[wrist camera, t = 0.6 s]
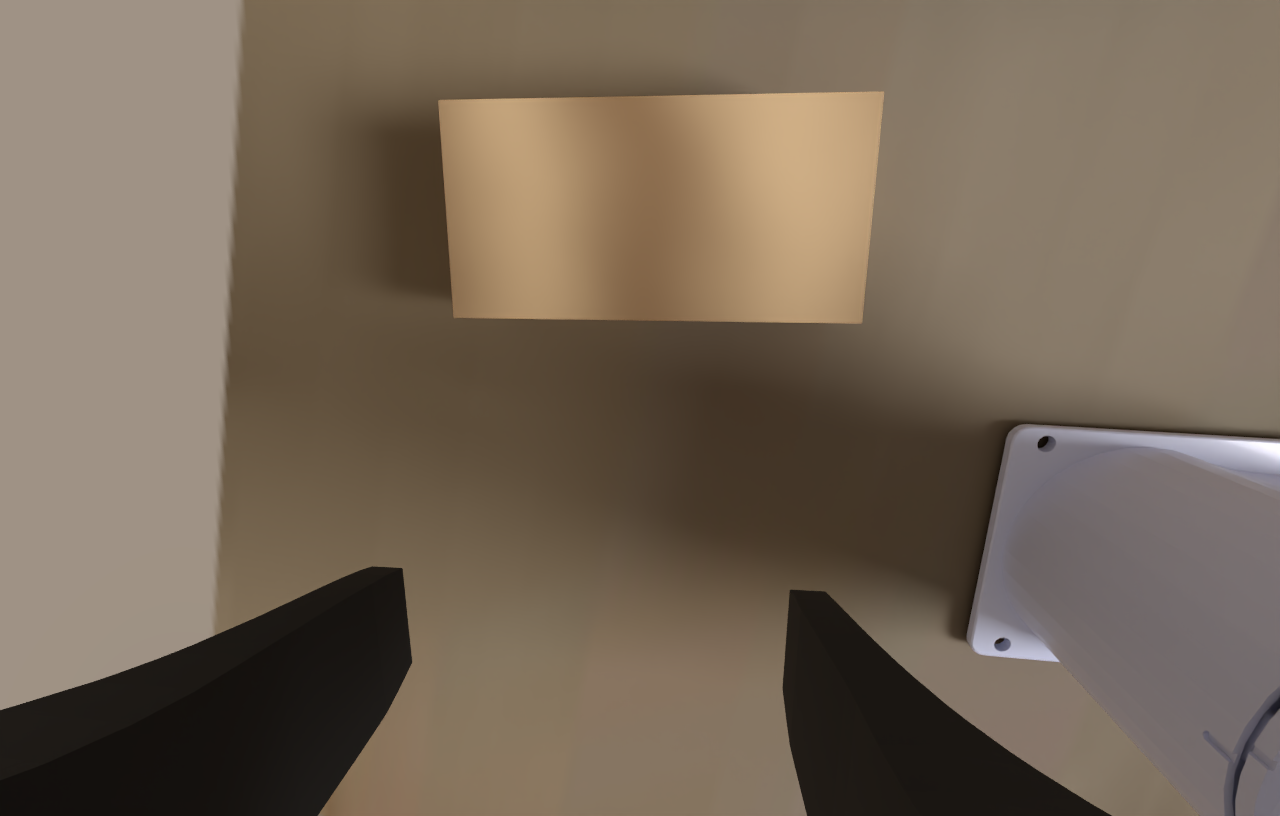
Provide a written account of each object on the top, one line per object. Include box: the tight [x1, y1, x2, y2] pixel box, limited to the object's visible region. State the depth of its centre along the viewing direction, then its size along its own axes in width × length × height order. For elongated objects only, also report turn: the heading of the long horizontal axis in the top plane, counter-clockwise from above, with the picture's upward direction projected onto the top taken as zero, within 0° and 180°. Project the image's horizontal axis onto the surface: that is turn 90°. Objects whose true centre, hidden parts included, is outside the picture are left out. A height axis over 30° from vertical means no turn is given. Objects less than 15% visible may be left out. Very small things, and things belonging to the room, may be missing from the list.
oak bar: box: [438, 92, 884, 324], centre depth 16 cm, size 10×5×4 cm, turn 90°
